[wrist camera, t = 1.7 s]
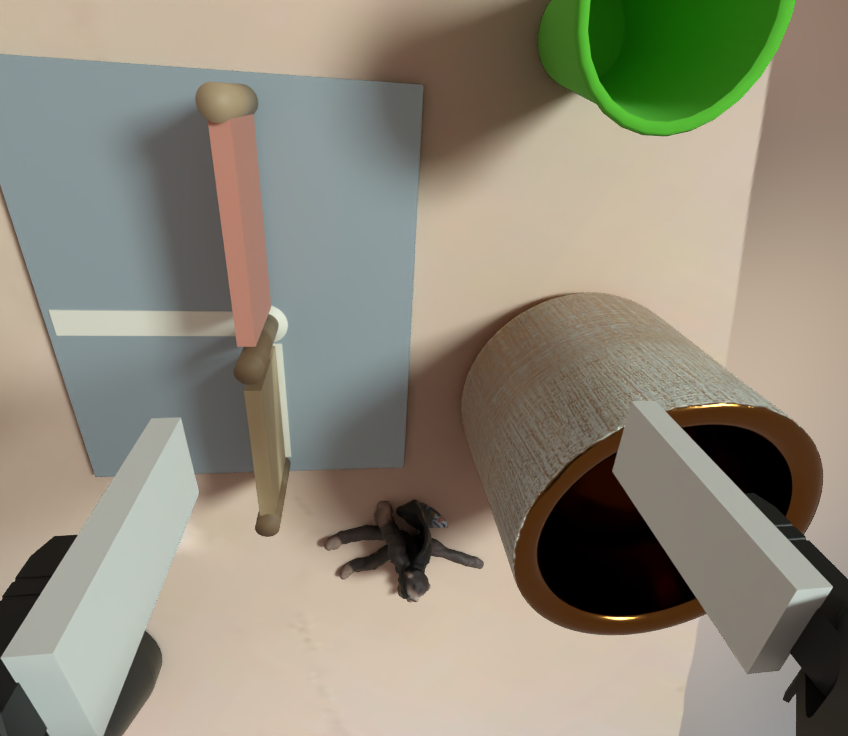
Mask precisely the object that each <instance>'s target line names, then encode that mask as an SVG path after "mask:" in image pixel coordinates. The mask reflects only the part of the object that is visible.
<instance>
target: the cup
mask: <svg viewBox="0 0 848 736" xmlns="http://www.w3.org/2000/svg"><path fill="white" fill-rule="evenodd" d="M795 1H796V0H551V1H550V3H549V4H548V5H547V7H546V9H545V12H544V14H543V16H542V18H541V22H540V26H539V31H538V50H539V57H540V60H541V62H542V65H543V67H544V69H545V71H546V72H547V73H548V75H549V76H550V77H551V78H552V79H553V80H554V81H556V82H557V83H558V84H560V85H561V86H563V87H565V88H567V89H569V90H571V91H573V92H575V93H577V94H578V95H580V96H582V97H584V98H586V99H588V100H590V101H592V102H594V103H596V104H597V105H598V107H599V108H600V109H601V111H602V112H603V113H604V114H605V115H607V116H608V117H609V118H610V119H612V120H613V121H614V122H615V123H617V124H618V125H619V126H621V127H622V128H625V129H628V130H631V131H633V132H636V133H639V134H641V135H651V136H670V135H674V134H679V133H684V132H688V131H691V130H693V129H696V128H698V127H700V126H702V125H704V124H706V123H708V122H710V121H712V120H714V119H715V118H717V117H718V116H719V115H721V114H722V113H723V112H725V111H726V110H727V109H728V108H730V107H731V106H732V105H734V104H735V103H736V102H738V101H739V100H740V99H741V98H742V97H743V96H744V95H745V93H746V92H747V91H748V90H749V89H750V88H751V87H752V86H753V85H754V83H755V82H756V81H757V80H758V79H759V78H760V77H761V75H762V74H763V72H764V70H765V69H766V67H767V66H768V64H769V63H770V61H771V59H772V58H773V56H774V55H775V53H776V52H777V50H778V48H779V45H780V43H781V41H782V39H783V36H784V34H785V32H786V29H787V27H788V25H789V22H790V20H791V17H792V13H793V9H794V4H795Z"/></svg>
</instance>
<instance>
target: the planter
mask: <svg viewBox="0 0 848 736" xmlns="http://www.w3.org/2000/svg"><path fill="white" fill-rule="evenodd" d="M632 401H656V402H657V403H658V404H659V405H660V406H661V407H662V408H663V409H664V410H665V411H666V412H667V413H668V414H669V416H670V417H671V418H672V419H673V420H674V421H675V422H676V423H677V424H678V425H679V426H680V427H681V428H682V429H683V430H684V431H685V432H686V433H687V434H688V435H689V436H690V438H691V439H692V440H693V441H694V442H695V443H696V444H697V445H698V446H699V447H700V448H701V449H702V450H703V451H704V452H705V453H706V454H707V455H708V456H709V457H710V458H711V459H712V461H713V462H714V463H715V464H716V465H717V466H718V467H719V468H720V469H721V470H722V471H723V472H724V473H725V474H726V475H727V476H728V477H729V478H730V479H731V480H732V481H733V483H734V484H735V485H736V486H737V487H738V488H739V489H740V490H741V491H742V492H743V493H744V494H746V493H755V494H756V495H758V496H759V497H761V498H762V499H764V500H766V501H767V502H769V503H770V504H772V505H773V506H775V507H776V508H777V509H778V510H779V511H780V512H781V513H782V514H783V515H784V516H785V517H786V518H787V519H788V520H789V521H790V522H791V523H792V526H793V527H796V528H797V529H798V530H799V531H800V532H801V533H802V534H803V535H804V534H805V532H806V530H807V529H808V527H809V525H810V523H811V521H812V519H813V517H814V515H815V512H816V510H817V507H818V504H819V501H820V497H821V493H822V486H823V468H822V463H821V458H820V455H819V452H818V450H817V448H816V446H815V444H814V442H813V440H812V439H811V437H810V436H809V435H808V434H807V433H806V431H805V430H804V429H803V428H801V426H799V424H797V423H796V422H795V421H794V420H793V419H791V418H790V417H789V416H787V415H786V414H785V413H784V412H782V411H781V410H780V409H778V408H777V407H775V406H774V405H773V404H772V403H770V402H769V401H768V400H766V399H765V398H764V397H762V396H761V395H760V394H758V393H757V392H756V391H754V390H753V389H752V388H750V387H749V386H748V385H746V384H745V383H744V382H743V381H741V380H740V379H739V378H737V377H736V376H735V375H733V374H732V373H731V372H730V371H728V370H727V369H726V368H724V367H723V366H722V365H720V364H719V363H718V362H717V361H715V360H714V359H713V358H711V357H710V356H709V355H708V354H706V353H705V352H704V351H703V350H701V349H700V348H699V347H697V346H696V345H695V344H694V343H692V342H691V341H690V340H689V339H687V338H686V337H685V336H683V335H682V334H681V333H680V332H678V331H677V330H676V329H674V328H673V327H672V326H671V325H669V324H668V323H667V322H665V321H664V320H663V319H661V318H660V317H659V316H657V315H656V314H655V313H653V312H652V311H650V310H649V309H647V308H645V307H643V306H642V305H640V304H638V303H636V302H633V301H631V300H629V299H626V298H623V297H620V296H616V295H611V294H604V293H578V294H571V295H565V296H561V297H557V298H553V299H550V300H547V301H545V302H542V303H540V304H538V305H535V306H533V307H531V308H529V309H527V310H526V311H524V312H522V313H520V314H519V315H517V316H516V317H514V318H513V319H512V320H510V321H509V322H508V323H506V324H505V325H504V326H503V327H502V328H500V329H499V330H498V331H497V332H496V333H495V334H494V335H493V336H492V337H491V338H490V339H489V341H488V342H487V343H486V344H485V345H484V347H483V348H482V350H481V351H480V352H479V354H478V355H477V357H476V359H475V360H474V362H473V364H472V366H471V368H470V370H469V373H468V375H467V378H466V381H465V385H464V389H463V394H462V404H461V410H462V421H463V427H464V432H465V435H466V439H467V442H468V445H469V448H470V451H471V454H472V456H473V459H474V462H475V465H476V468H477V471H478V474H479V476H480V479H481V482H482V485H483V488H484V490H485V493H486V496H487V499H488V502H489V505H490V508H491V510H492V513H493V516H494V519H495V522H496V525H497V528H498V531H499V534H500V537H501V540H502V543H503V546H504V549H505V552H506V555H507V558H508V561H509V564H510V567H511V570H512V573H513V576H514V578H515V581H516V584H517V586H518V588H519V590H520V592H521V594H522V596H523V597H524V599H525V600H526V601H527V603H528V604H529V605H530V606H531V607H532V608H533V609H534V610H535V611H536V612H537V613H539V614H540V615H541V616H543V617H544V618H546V619H547V620H549V621H551V622H553V623H555V624H557V625H559V626H562V627H564V628H567V629H570V630H574V631H578V632H583V633H589V634H597V635H629V634H638V633H645V632H651V631H656V630H660V629H664V628H668V627H672V626H675V625H678V624H681V623H684V622H687V621H690V620H693V619H695V618H698V617H700V616H703V615H704V614H707V613H706V612H705V610H704V609H703V607H702V606H701V604H700V603H699V601H698V600H697V598H696V597H695V595H694V594H693V592H692V591H691V589H690V588H689V586H688V585H687V583H686V582H685V580H684V579H683V577H682V576H681V574H680V573H679V571H678V570H677V568H676V567H675V565H674V563H673V562H672V560H671V559H670V557H669V556H668V554H667V553H666V551H665V550H664V548H663V547H662V545H661V544H660V542H659V541H658V539H657V538H656V536H655V535H654V533H653V532H652V530H651V529H650V527H649V526H648V524H647V523H646V521H645V520H644V518H643V517H642V515H641V514H640V512H639V511H638V509H637V508H636V506H635V505H634V503H633V502H632V500H631V499H630V497H629V496H628V494H627V493H626V491H625V490H624V488H623V487H622V485H621V484H620V482H619V481H618V479H617V478H616V476H615V475H614V473H613V472H612V470H613V466H614V463H615V459H616V456H617V452H618V448H619V445H620V441H621V438H622V434H623V430H624V427H625V423H626V420H627V416H628V412H629V409H630V405H631V402H632Z"/></svg>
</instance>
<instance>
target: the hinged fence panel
mask: <svg viewBox="0 0 848 736" xmlns="http://www.w3.org/2000/svg"><path fill="white" fill-rule="evenodd" d="M195 101H196V106H197V108H198V110H199V112H200V113H201V115H202V116H203V117H204V118H206V119H207V120H208V127H209V135H210V143H211V150H212V158H213V166H214V173H215V181H216V189H217V196H218V204H219V212H220V219H221V227H222V235H223V242H224V250H225V258H226V265H227V273H228V280H229V288H230V296H231V303H232V311H233V319H234V326H235V334H236V342H237V347H256V345H257V342H258V340H259V337H260V334H261V332H262V329H263V327H264V324H265V322H266V319H267V317H268V314H269V311H270V309H271V298H270V287H269V276H268V265H267V254H266V243H265V232H264V221H263V210H262V199H261V188H260V177H259V166H258V155H257V144H256V133H255V122H254V113H255V112H256V111H257V108H258V98H257V95H256V93H255V92H254V91H253V89H251V88H250V87H249V86H247V85H244V84H234V83H221V82H206V83H204V84H202V85H201V86H200V87H199V88H198V90H197V92H196V96H195Z"/></svg>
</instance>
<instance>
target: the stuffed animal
mask: <svg viewBox="0 0 848 736" xmlns="http://www.w3.org/2000/svg"><path fill="white" fill-rule="evenodd" d="M392 512H393V510H392V506H391V504H390V503H389V502H387V501H381V502H379V503H378V505H377V510H376V512H375V514H374V518H375V521H376V523H377V524H378V526H372V525H365V526H362V527H358V528H354V529H349V530H346V531H340V532H339V533H338V534H336V535H334V536H333V537H332V538H330V539H329V540H327V541H326V542H325V549H326V550H328V551H330V550H335V549H337V548H339V547H340V545H342V544H347V543H350V542H356V541H361V540H385V541H386V543H387V545H385V546H384V547H382V548H381V549H379V551H378V552H377V553H374V554H372V555H370V556H367V557H363V558H356V559H354V560H352V561H350V562H349V563H347V564H346V565H345V566H344V567H343V568H342V570H341V573H340V578H341V579H346V578H347V577H348V576H350V575H351V574H352V573H353V572H360V571H365V570H372V569H373V570H375V569H376V568H377V567H379V566H381V565H382V564H384V563H385V562H386V561H388V560H391V562H392V563H393V564H394V565H395V570H396V572H397V573H398V574H399V578H398V582H399V586H398V594H399V596H400V597H402V598H403V599H407V601H408V602H413V601H414V602H417V601H418V600H419V598H420V597H421V596H422V595H423V594H425V593H426V591H428V590H429V589H430V584H429V582H428V578H427V576H426V575H425V574H424V572H425V568H426V565H427V564H428V563H429V560H430V557H431V556H435V557H443V558H446V559H448V560H451V561H453V562H456V563H460V564H462V565H465V566H469V567H474V568H478V569H481V568H482V567H483V565H484V563H483V561H481V560H480V559H479V558H478V557H475V556H471V555H468V554H465V553H463V552H459V551H455V550H452V549H448V548H446V547H445V546H444V545H443V544H442V543H440V542H439V541H438V540H436V539H434V538H431V534H430V531H429V529H428V528H433V527H438V528H447V527H448V524H447V522H446V521H445V519H444V518H443V517H442V516H441V515H440V514H439V513H438V512H437V511H436V510H434V509H433V508H431V507H429V506H428V505H426V504H423V503H417V501H416V500H412V501H411V502H408V503H407V504H405V505H402V506H400V507H398V508H397V509H396V513H397V515H398V516H399V517H401V518H403V519H404V520H405V521H406V523H408V524H409V525H411V526H412V527H413V528H415V529H416V530H418V531H419V533H418V534H415V535H411V534H410V533H409V532H407V531H405V530H401V529H399V527H398V526H397V524H396V523H395V521H394V518H393V515H392Z"/></svg>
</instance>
